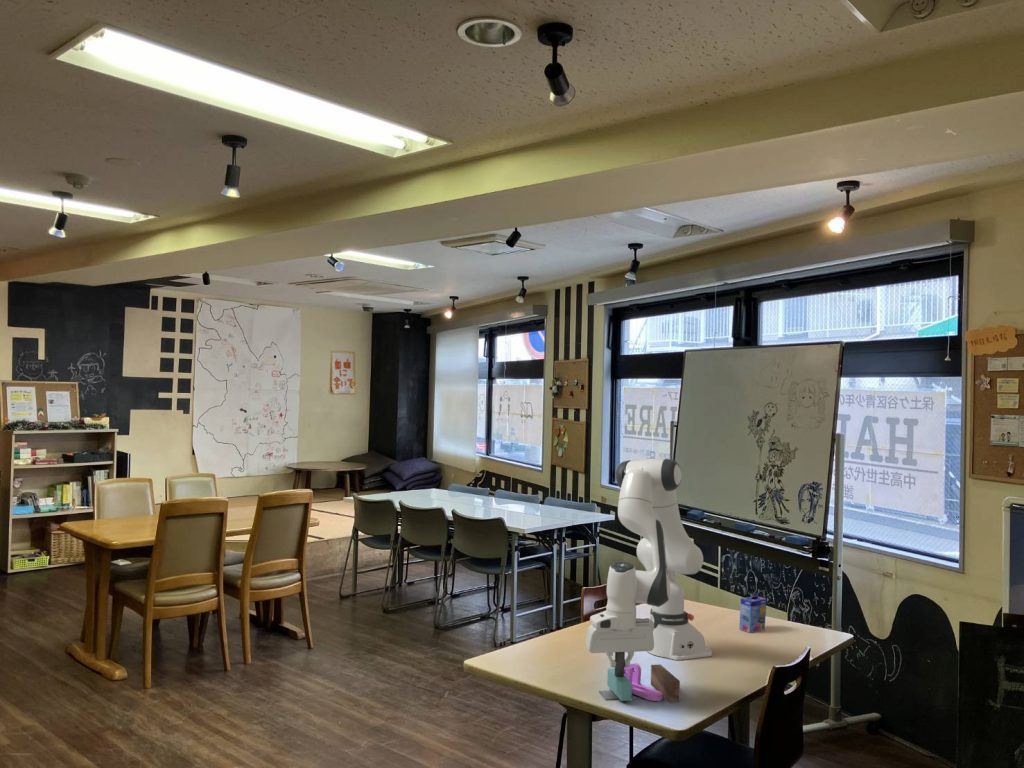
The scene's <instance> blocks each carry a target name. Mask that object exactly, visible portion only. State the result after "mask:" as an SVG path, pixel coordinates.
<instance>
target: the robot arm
mask: <svg viewBox="0 0 1024 768" xmlns="http://www.w3.org/2000/svg"><path fill="white" fill-rule="evenodd" d="M615 480H616V483H617V485H618V487H619V488H620V489H619V495H618V501H617V503H618V504H617V517H618V520H619V522H620V523H621V525H622V526H624V527H625V528H626V529H627V530H629V531H630V532H631V533H634V534H637V535H639V536H640V537H642V538H641V539H640V541H638V544H637V547H636V556H637V559H638V561H639V562H640V563H641V565H642V566H643V567H644V568H645V569H644V570H638V569H636V566H635V564H633V563H631V562H629V561H616V562H613V563H611V564H610V566H609V568H608V574H607V577H606V582H605V586H606V587H605V589H606V590H605V591H606V597H607V602H606V603H607V604H606V606H605V607H606V608H605V609H606V610H603V611H600V612H598V613H595V614H593V615H591V616H590V617H589V622H590V623H591V624H590V625H589V627H588V628H587V631H586V639H585V640H586V641H585V647H586V649H587V650H588V652H589V653H591V654H600V653H601V654H602V653H603V654H604V653H605V654H606V657H607V658H608V660H609V667H610V668H615V667H616V661H615V659H613V656H614V653H615V652H625V653H627V655H626V658H625V664H624V667H630V664H631V661H632V659H633V658H634V655H635V652H648V653H649V654H651V655H653V656H658V657H662V658H666V659H667V658H668V659H671V660H674V661H682V660H691V659H698V658H707V657H712V656H713V653H712V650H711V649H710V647H708V646H706V641H705V637H704V635H703V633H702V632H701V631H699V629H697V628H696V627H695V626H694V625H693V624H691V623H690V622H691V621H694V619H695V615H693V614H692V613H688V612H686V611H685V590H684V587H683V585H682V584H680V582H678V580H677V579H676V577H675V574H674V573H676V574H679V575H695V574H697V573H698V572H700V570H701V568H702V567H703V563H704V555H703V552H702V550H701V548H700V547H698V546H697V545H696V544H695V542H694V541H692V540H691V539H692V538H690V537H689V535H688V533H687V532H686V530H685V527H684V526H683V522H682V520H681V519H682V518H681V514H680V509H679V503H678V498H677V497H678V496H677V492H676V489H677V488H678V487H679V486H680V485H681V482H682V470H681V466H680V465H679V463H678V462H677V461H676V460H674V459H671V458H664V459H663V458H662V459H661V458H646V459H645V458H644V459H636V460H624V461H622V462H620V463H619V465H618V466H617V468H616V471H615ZM636 603H637V604H642V605H643V604H644V605H647V606H651V609H650V611H649V612H650V613H649V614H650V615H649V618H646V617H645V618H637V607H636ZM689 621H690V622H689Z"/></svg>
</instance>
